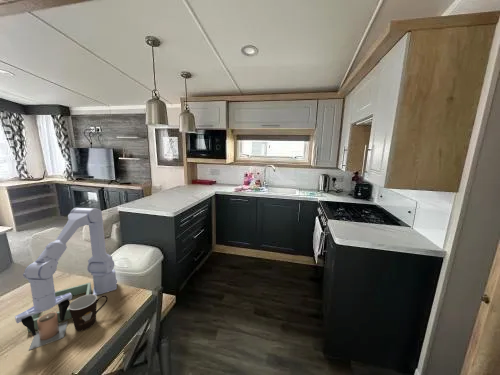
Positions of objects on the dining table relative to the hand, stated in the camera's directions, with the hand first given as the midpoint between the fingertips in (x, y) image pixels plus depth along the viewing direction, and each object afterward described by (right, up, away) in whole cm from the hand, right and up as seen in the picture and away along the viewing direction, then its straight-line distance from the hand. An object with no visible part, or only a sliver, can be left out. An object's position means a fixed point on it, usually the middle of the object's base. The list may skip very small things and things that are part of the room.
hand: (48, 326), depth 75 cm
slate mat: (0, -3, 0) cm, 3 cm away
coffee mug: (+11, -3, +6) cm, 13 cm away
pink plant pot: (0, -3, +1) cm, 3 cm away
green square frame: (-7, -1, +14) cm, 16 cm away
